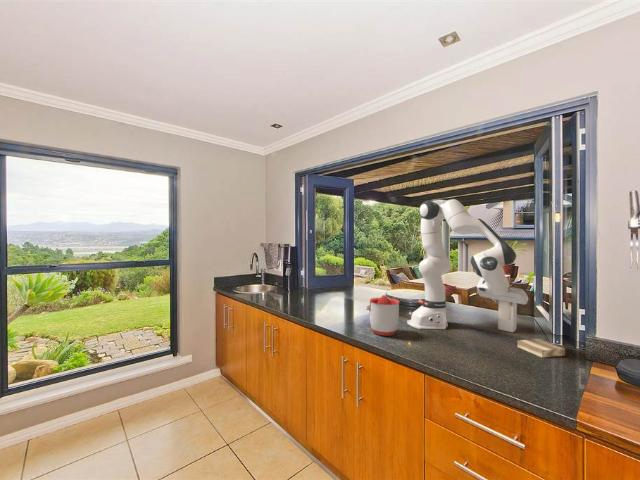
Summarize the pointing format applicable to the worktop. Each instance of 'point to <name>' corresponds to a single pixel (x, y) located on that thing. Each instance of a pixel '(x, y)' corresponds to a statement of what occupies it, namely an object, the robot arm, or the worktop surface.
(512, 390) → the worktop surface
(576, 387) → the worktop surface
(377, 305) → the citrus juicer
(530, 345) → the base slab
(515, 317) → the milk carton
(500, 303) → the canister
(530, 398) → the worktop surface
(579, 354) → the worktop surface
